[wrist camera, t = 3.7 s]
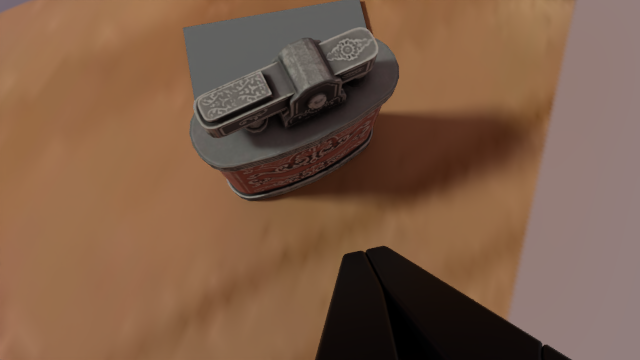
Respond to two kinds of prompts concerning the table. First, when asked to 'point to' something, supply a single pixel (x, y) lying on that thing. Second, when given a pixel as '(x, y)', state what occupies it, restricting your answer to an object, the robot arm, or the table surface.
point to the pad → (260, 40)
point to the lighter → (295, 114)
